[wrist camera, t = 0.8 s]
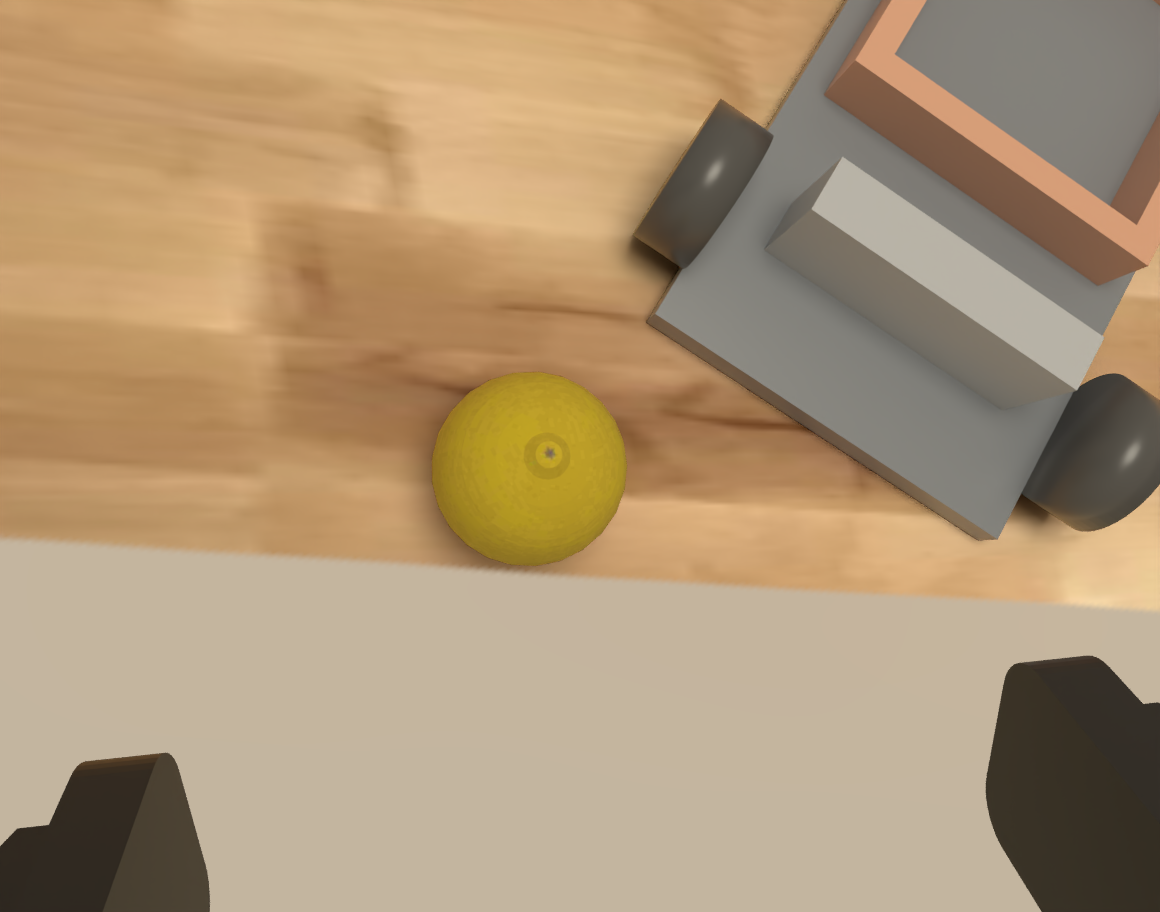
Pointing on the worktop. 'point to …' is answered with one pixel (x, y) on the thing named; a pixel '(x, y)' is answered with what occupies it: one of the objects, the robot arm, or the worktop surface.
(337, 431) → the worktop surface
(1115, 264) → the chassis
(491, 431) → the lemon
